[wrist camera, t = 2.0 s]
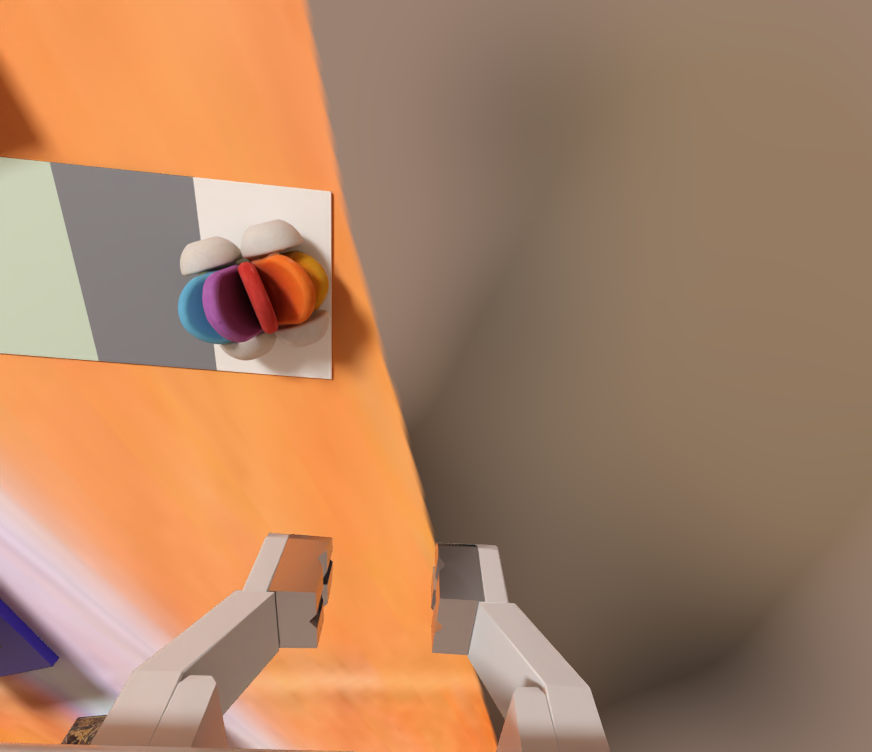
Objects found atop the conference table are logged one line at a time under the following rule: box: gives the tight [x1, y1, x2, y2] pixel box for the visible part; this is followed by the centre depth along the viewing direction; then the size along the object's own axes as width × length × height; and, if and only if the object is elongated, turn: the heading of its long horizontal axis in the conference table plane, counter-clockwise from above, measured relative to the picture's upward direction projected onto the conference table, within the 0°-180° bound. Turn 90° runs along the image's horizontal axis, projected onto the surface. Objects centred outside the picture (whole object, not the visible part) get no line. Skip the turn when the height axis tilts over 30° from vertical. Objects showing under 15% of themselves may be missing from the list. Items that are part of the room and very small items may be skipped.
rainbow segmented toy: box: [178, 219, 329, 361], centre depth 29 cm, size 8×10×7 cm
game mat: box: [0, 157, 332, 379], centre depth 31 cm, size 14×27×1 cm, turn 84°
